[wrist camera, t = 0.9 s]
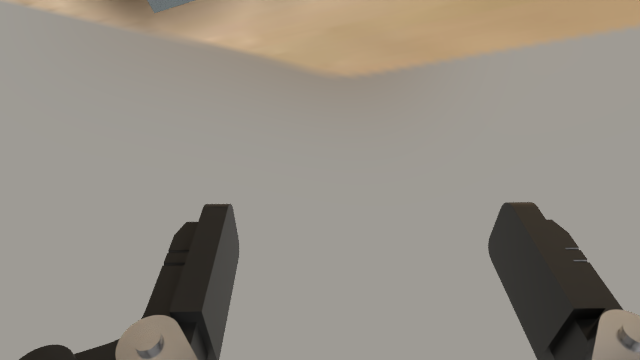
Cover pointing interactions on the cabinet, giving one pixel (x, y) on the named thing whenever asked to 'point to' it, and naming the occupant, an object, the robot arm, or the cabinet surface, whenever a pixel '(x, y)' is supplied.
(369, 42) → the cabinet surface
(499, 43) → the cabinet surface
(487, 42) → the cabinet surface
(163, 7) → the cup bracket
